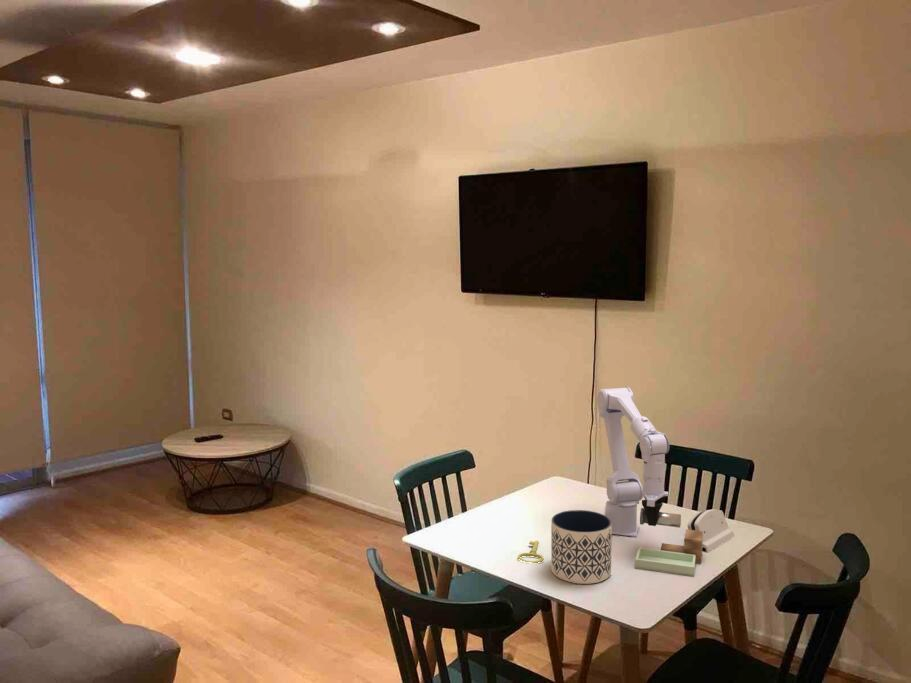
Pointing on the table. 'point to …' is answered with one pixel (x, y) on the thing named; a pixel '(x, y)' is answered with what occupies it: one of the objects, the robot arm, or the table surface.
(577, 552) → the planter
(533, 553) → the key
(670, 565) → the tray
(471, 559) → the table surface
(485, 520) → the table surface
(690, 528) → the white curved plastic device
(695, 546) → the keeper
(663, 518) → the pin
